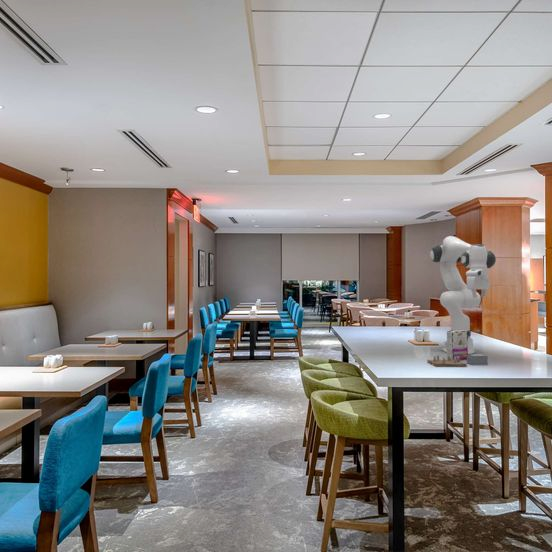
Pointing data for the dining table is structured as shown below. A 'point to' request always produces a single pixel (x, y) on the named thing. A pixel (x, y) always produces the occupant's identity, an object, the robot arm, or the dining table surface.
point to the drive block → (477, 360)
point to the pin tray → (447, 362)
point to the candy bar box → (457, 344)
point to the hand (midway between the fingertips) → (479, 297)
